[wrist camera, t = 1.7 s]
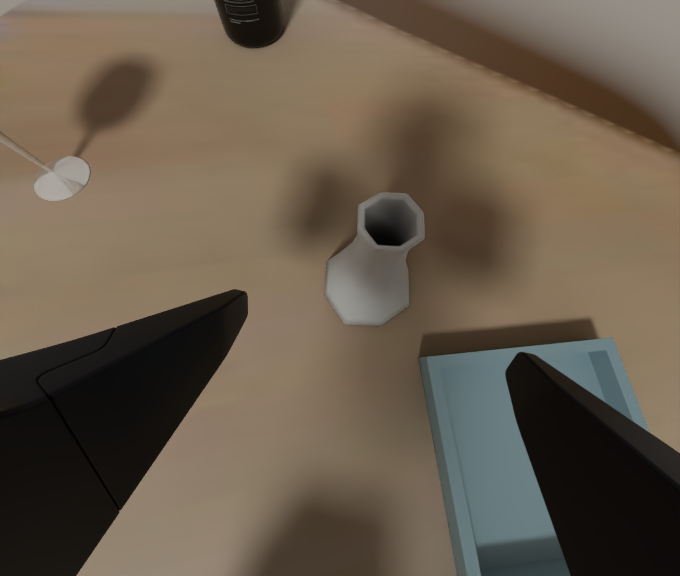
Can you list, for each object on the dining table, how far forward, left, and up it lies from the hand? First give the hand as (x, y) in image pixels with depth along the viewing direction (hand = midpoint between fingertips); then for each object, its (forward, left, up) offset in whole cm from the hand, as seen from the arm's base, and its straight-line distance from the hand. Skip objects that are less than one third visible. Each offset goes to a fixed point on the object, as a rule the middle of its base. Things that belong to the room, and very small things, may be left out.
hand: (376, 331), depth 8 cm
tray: (-8, -12, -12) cm, 18 cm away
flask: (+5, -2, -12) cm, 13 cm away
